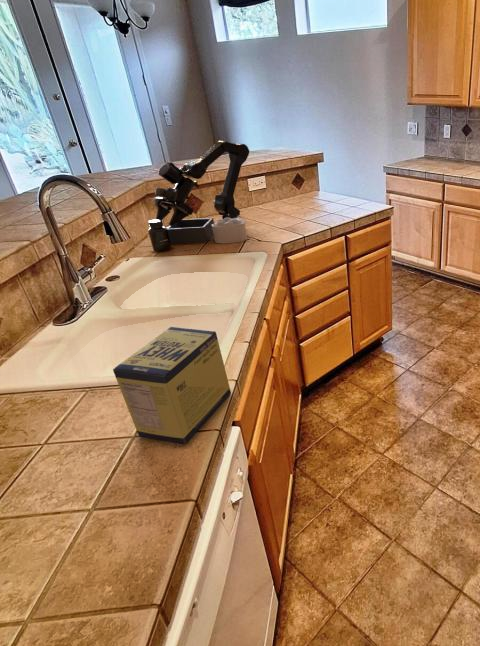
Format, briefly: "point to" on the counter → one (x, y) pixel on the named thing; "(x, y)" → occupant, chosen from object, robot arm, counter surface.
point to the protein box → (174, 384)
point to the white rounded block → (229, 230)
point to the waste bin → (191, 231)
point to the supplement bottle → (159, 236)
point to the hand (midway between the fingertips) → (163, 223)
